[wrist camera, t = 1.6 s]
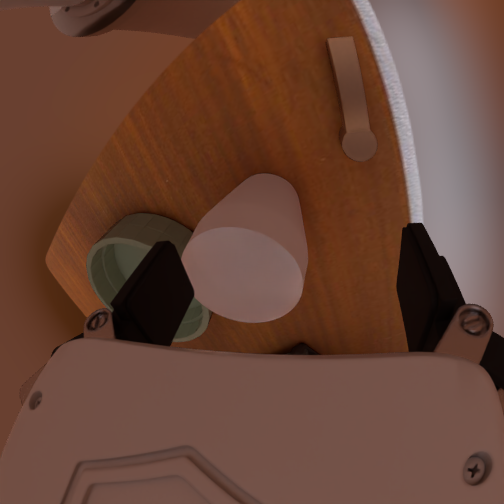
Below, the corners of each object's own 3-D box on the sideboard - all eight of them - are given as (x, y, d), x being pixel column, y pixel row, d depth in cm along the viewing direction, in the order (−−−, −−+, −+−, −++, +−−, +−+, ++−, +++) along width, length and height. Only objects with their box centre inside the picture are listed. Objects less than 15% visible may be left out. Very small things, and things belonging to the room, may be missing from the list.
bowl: (91, 221, 36) (66, 245, 31) (196, 199, 30) (173, 228, 26) (142, 310, 45) (126, 336, 40) (238, 312, 40) (228, 345, 35)
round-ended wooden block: (319, 43, 18) (320, 39, 16) (353, 40, 18) (359, 35, 15) (341, 152, 24) (344, 163, 22) (372, 150, 23) (379, 160, 21)
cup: (315, 237, 30) (310, 324, 21) (235, 242, 33) (200, 322, 23) (305, 156, 25) (298, 218, 16) (215, 167, 28) (160, 230, 18)
